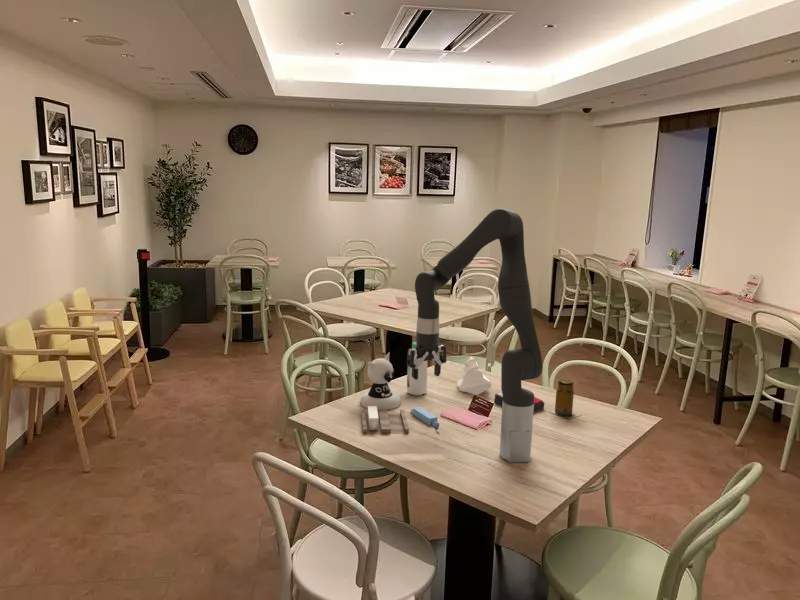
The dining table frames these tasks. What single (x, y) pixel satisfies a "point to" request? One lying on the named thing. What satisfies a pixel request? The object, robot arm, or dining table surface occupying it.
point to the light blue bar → (425, 416)
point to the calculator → (537, 402)
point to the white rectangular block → (373, 418)
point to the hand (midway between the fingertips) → (426, 377)
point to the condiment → (564, 399)
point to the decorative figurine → (380, 386)
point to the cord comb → (386, 423)
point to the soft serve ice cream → (473, 378)
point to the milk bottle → (421, 383)
